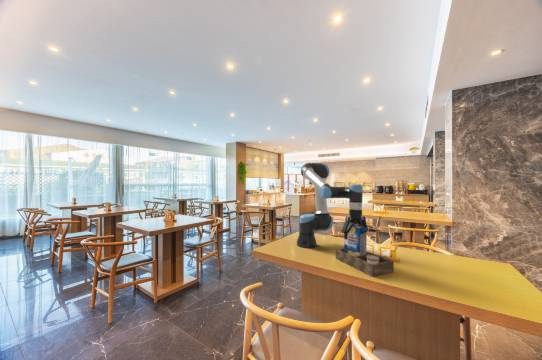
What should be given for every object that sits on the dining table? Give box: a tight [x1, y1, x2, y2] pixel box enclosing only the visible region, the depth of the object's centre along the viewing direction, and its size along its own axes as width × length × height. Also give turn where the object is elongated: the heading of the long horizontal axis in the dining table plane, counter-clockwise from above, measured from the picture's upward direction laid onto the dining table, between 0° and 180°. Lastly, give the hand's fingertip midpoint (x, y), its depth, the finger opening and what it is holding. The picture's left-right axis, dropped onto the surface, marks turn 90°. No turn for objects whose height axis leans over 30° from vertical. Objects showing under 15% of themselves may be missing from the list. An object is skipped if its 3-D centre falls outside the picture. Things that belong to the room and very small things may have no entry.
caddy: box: [335, 247, 395, 278], centre depth 129 cm, size 28×16×6 cm, turn 24°
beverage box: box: [343, 224, 368, 257], centre depth 135 cm, size 7×11×22 cm, turn 36°
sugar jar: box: [366, 255, 379, 264], centre depth 123 cm, size 7×7×7 cm
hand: (355, 243), depth 135 cm, fingers open, 13 cm apart
